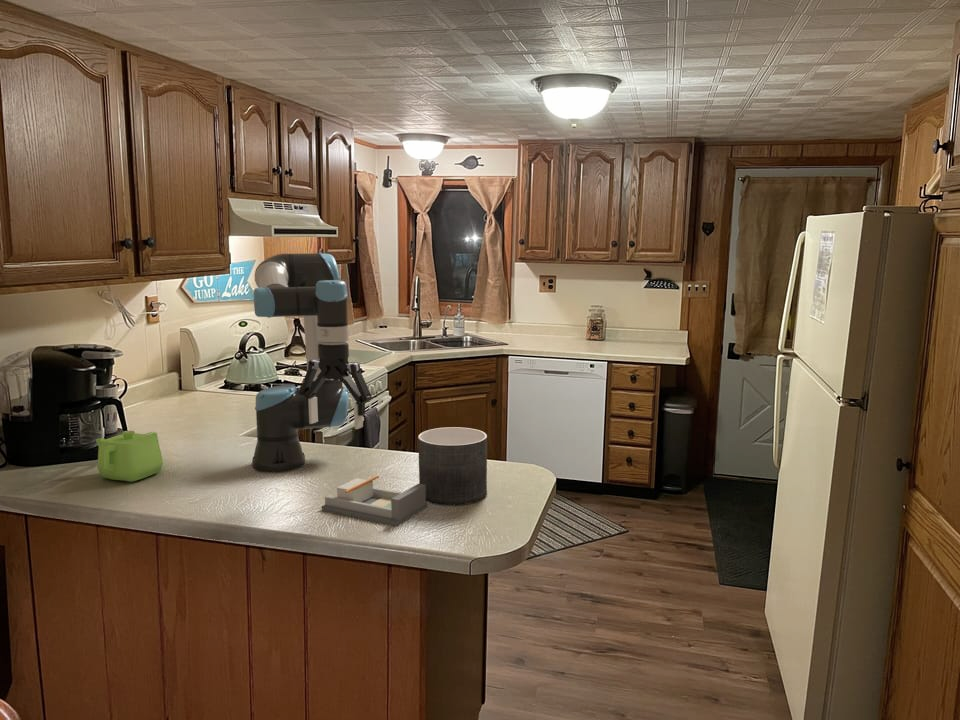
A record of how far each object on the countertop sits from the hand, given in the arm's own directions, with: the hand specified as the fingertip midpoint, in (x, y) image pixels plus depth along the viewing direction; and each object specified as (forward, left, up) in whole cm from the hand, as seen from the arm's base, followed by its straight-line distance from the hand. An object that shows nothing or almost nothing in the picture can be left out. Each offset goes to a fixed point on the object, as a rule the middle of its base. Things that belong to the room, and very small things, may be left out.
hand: (335, 425), depth 184 cm
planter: (+25, +16, -19) cm, 35 cm away
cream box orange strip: (+7, -2, -18) cm, 19 cm away
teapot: (-65, -13, -19) cm, 69 cm away
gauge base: (+13, -2, -19) cm, 23 cm away
